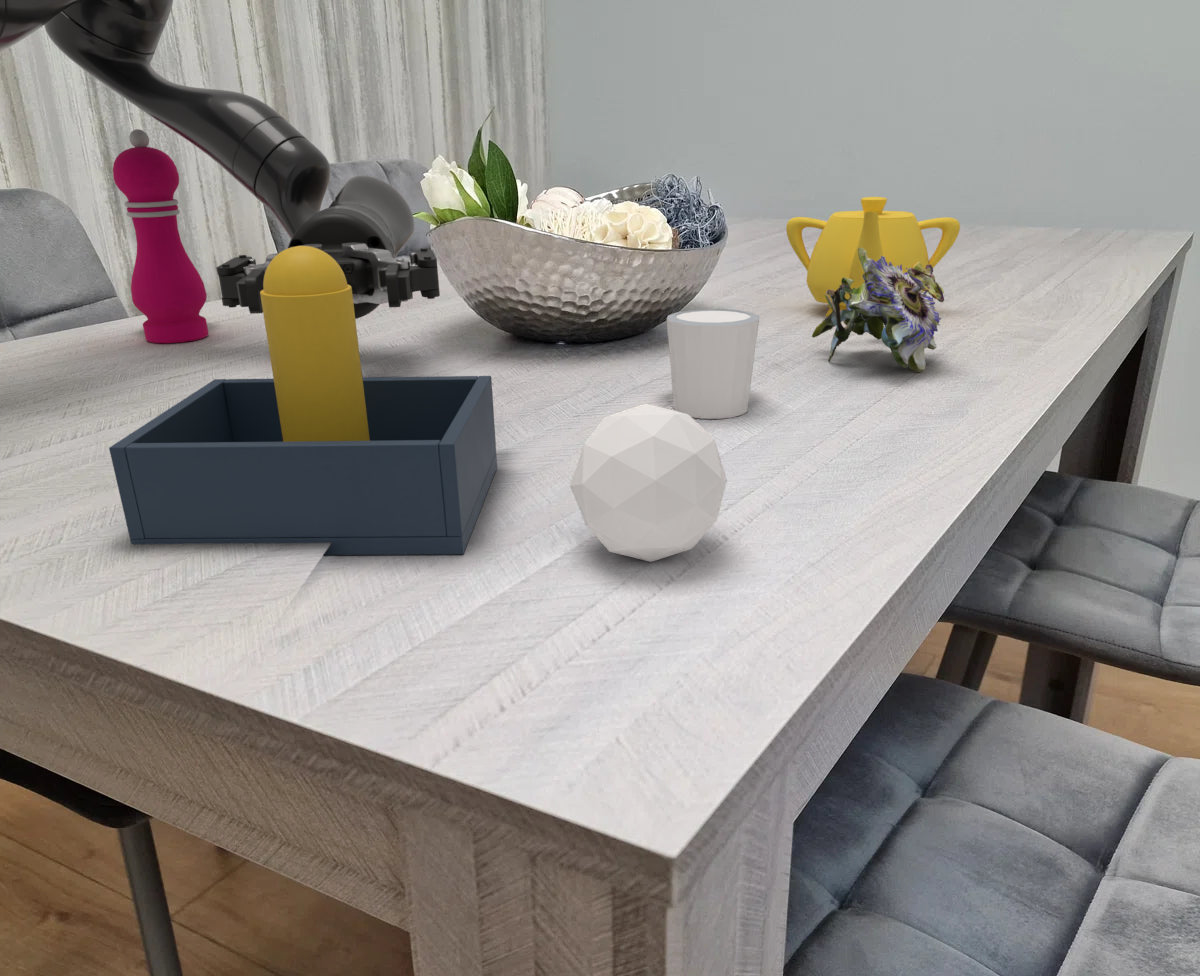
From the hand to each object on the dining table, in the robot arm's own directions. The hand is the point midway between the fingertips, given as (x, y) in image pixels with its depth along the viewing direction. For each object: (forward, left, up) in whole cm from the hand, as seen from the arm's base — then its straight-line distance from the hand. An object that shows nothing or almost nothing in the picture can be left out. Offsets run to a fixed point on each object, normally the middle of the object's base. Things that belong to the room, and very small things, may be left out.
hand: (322, 293), depth 65 cm
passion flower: (+40, +26, -11) cm, 49 cm away
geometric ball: (+20, -16, -11) cm, 28 cm away
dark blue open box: (+2, -9, -11) cm, 14 cm away
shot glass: (+25, +12, -11) cm, 30 cm away
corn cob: (+2, -9, -10) cm, 13 cm away
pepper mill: (-29, +43, -11) cm, 53 cm away
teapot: (+44, +50, -11) cm, 68 cm away
